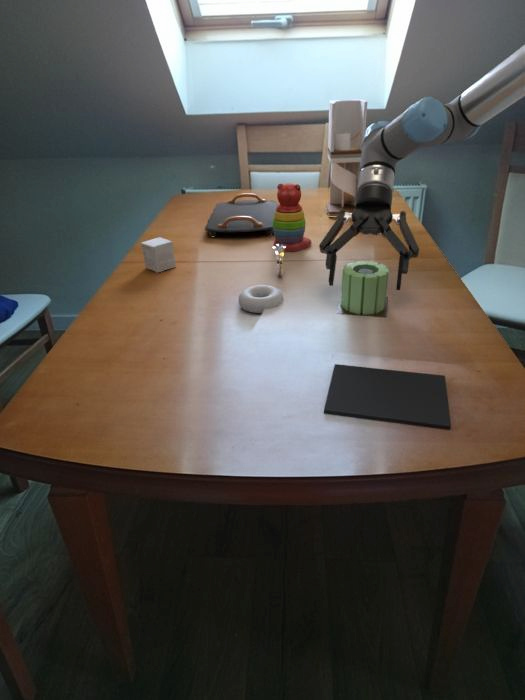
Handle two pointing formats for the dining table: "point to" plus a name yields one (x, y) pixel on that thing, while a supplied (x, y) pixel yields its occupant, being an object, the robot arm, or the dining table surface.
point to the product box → (158, 254)
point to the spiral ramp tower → (345, 152)
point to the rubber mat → (389, 396)
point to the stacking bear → (289, 219)
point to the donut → (260, 298)
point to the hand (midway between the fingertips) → (363, 285)
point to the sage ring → (364, 287)
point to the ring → (279, 256)
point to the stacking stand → (379, 314)
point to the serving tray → (242, 215)
